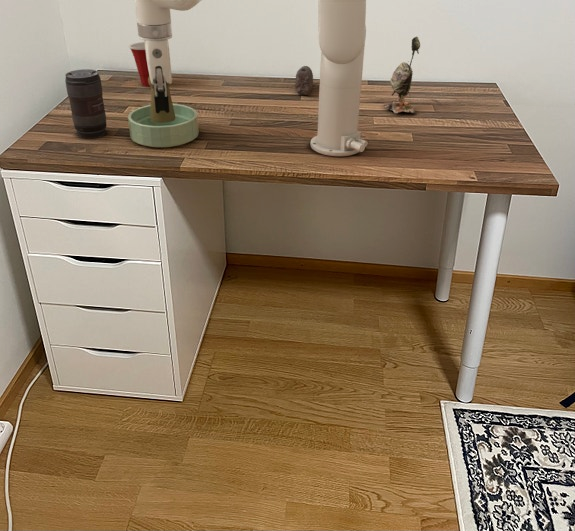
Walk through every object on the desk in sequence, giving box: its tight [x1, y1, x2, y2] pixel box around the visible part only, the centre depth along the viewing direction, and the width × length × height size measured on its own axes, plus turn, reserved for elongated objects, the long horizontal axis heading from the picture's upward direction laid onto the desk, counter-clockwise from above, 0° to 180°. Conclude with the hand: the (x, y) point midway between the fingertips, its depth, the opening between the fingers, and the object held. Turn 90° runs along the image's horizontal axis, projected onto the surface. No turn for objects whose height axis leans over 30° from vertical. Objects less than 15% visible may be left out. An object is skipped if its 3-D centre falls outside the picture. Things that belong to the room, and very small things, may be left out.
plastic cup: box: [128, 41, 151, 88], centre depth 186 cm, size 11×11×12 cm
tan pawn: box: [148, 76, 176, 123], centre depth 149 cm, size 6×6×11 cm
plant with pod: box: [383, 36, 421, 114], centre depth 168 cm, size 8×11×20 cm
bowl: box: [127, 103, 200, 148], centre depth 153 cm, size 17×17×6 cm
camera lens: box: [64, 68, 107, 140], centre depth 151 cm, size 8×8×15 cm
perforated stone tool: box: [294, 65, 314, 96], centre depth 185 cm, size 15×5×7 cm, turn 174°
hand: (162, 108), depth 150 cm, fingers closed on tan pawn, 3 cm apart
